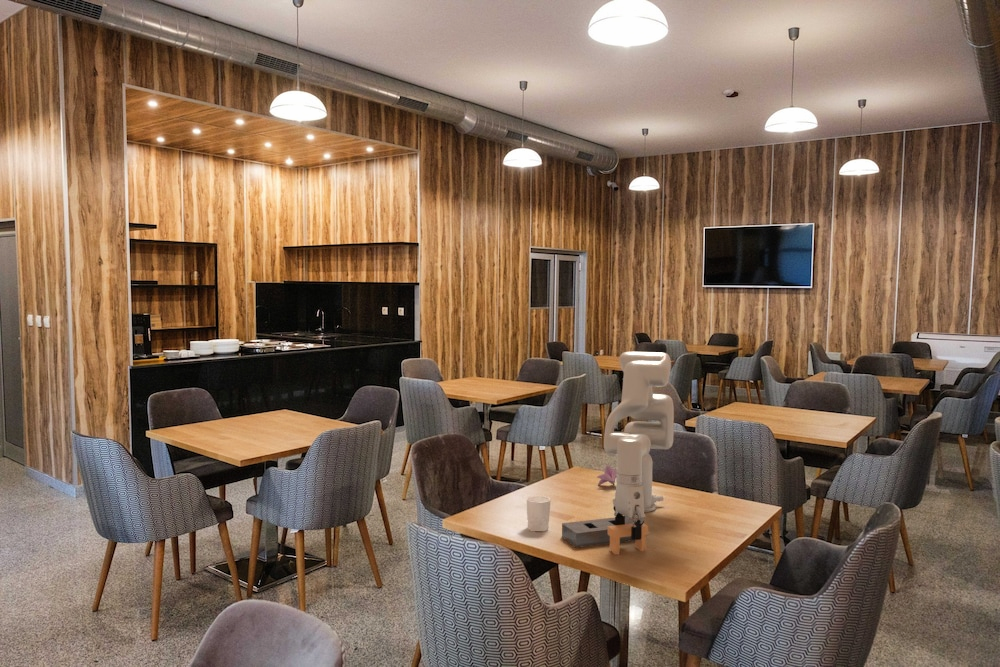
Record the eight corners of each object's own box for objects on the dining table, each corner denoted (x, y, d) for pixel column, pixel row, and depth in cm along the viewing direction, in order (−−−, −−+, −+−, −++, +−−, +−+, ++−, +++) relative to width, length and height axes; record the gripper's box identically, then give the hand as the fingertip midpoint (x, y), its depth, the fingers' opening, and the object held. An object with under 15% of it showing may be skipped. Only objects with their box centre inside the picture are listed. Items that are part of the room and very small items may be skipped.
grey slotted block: (627, 529, 234) (628, 515, 234) (643, 539, 224) (644, 525, 224) (561, 537, 226) (562, 523, 225) (575, 547, 216) (576, 533, 216)
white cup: (533, 534, 228) (534, 503, 228) (521, 526, 235) (522, 497, 235) (554, 530, 232) (555, 500, 231) (542, 523, 239) (542, 494, 238)
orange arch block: (641, 546, 218) (642, 522, 218) (647, 550, 215) (648, 525, 214) (607, 550, 214) (607, 526, 214) (612, 554, 211) (613, 530, 210)
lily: (630, 488, 287) (622, 465, 291) (629, 484, 276) (621, 460, 280) (601, 496, 288) (594, 473, 292) (599, 492, 278) (592, 469, 281)
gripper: (655, 484, 206) (654, 542, 207) (625, 470, 223) (624, 524, 224) (632, 486, 204) (631, 545, 205) (604, 472, 220) (603, 526, 221)
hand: (627, 534), depth 214 cm, fingers open, 9 cm apart
